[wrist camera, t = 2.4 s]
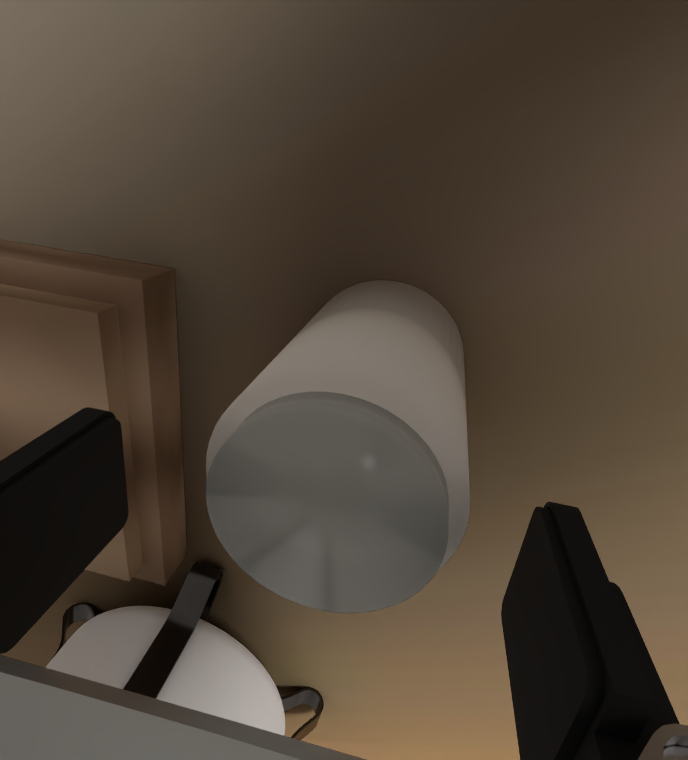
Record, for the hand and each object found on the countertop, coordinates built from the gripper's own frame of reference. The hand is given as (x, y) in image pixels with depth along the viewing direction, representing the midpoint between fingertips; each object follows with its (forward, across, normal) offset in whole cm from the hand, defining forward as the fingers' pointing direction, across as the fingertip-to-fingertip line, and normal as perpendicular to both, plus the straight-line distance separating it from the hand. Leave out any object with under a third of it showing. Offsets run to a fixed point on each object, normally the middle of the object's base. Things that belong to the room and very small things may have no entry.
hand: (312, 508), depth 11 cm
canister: (+8, -1, -1) cm, 8 cm away
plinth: (+8, +14, +4) cm, 17 cm away
